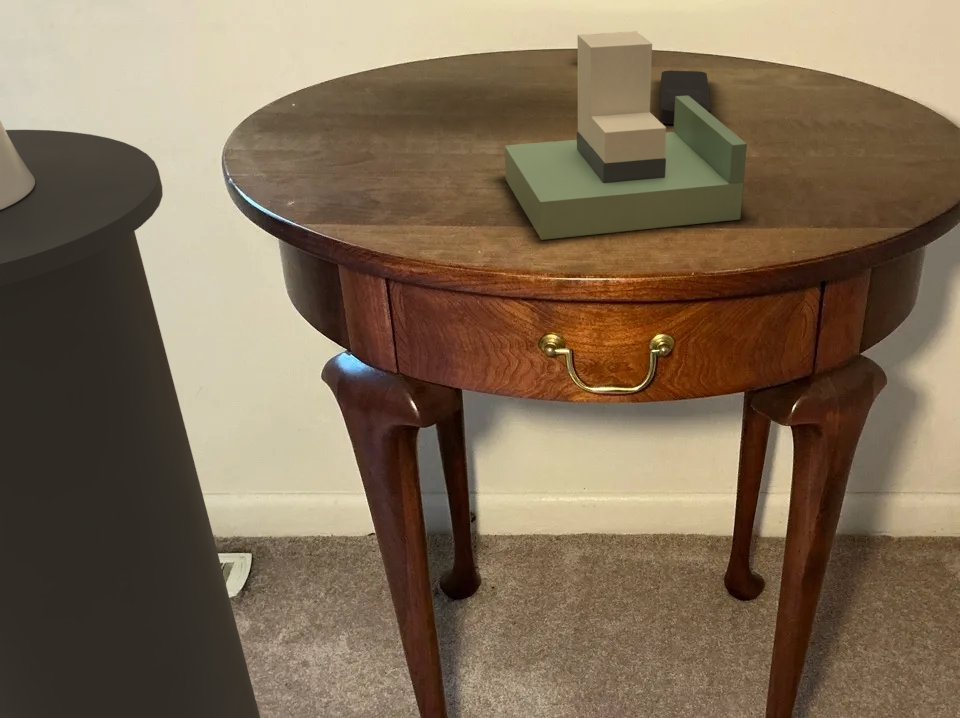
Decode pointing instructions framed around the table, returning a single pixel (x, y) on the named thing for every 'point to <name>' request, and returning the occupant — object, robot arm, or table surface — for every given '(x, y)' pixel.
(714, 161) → the green l-shaped bracket
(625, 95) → the beige stepped block
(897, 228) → the table surface
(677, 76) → the remote control
